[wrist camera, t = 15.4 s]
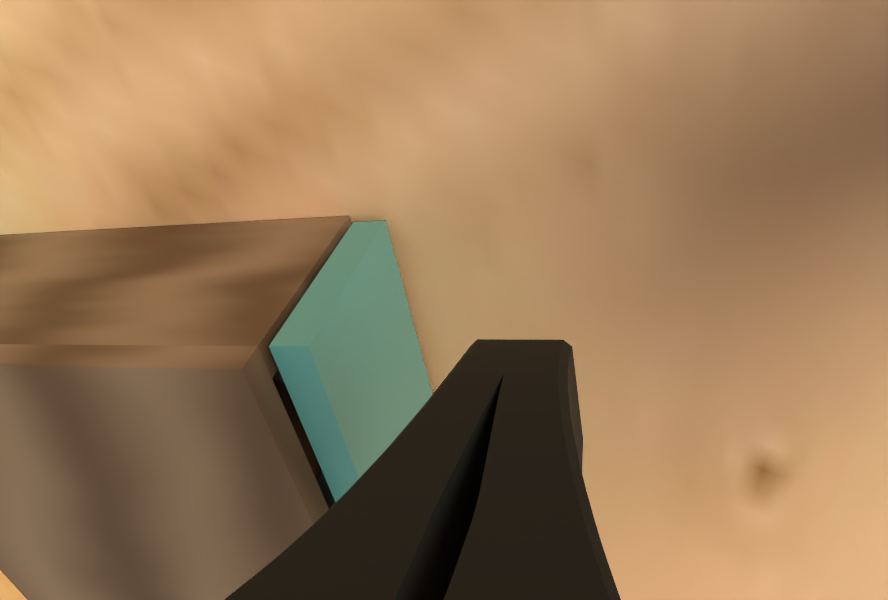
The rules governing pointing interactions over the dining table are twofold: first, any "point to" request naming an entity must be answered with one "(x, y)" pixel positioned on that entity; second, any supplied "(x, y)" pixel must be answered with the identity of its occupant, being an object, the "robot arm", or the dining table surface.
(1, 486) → the spice box
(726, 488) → the dining table surface
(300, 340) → the drawer
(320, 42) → the dining table surface
